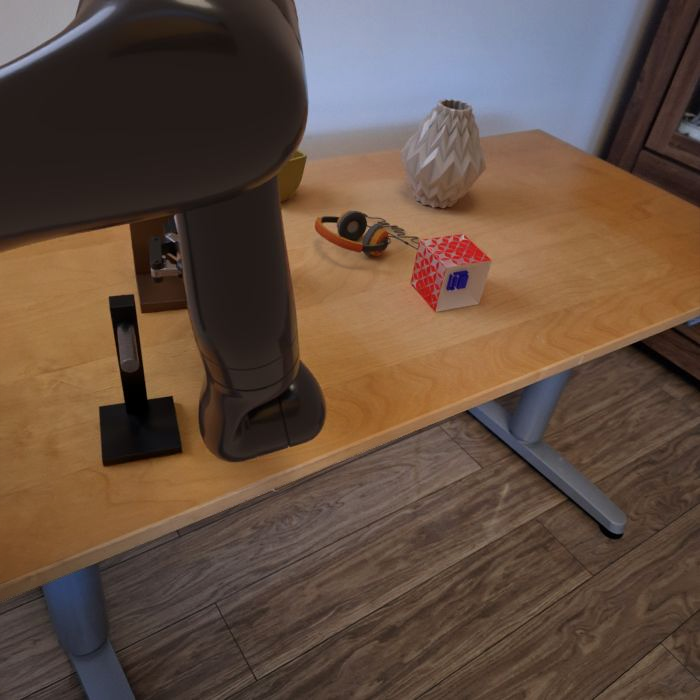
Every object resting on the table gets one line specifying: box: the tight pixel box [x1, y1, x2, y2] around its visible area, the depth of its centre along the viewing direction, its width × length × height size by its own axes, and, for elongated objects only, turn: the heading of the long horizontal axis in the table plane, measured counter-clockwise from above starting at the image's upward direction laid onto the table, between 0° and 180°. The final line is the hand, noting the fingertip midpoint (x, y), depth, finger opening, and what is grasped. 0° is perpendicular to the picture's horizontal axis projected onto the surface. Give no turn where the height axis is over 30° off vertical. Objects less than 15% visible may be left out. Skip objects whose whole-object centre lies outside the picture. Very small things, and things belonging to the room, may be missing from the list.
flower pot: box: [278, 149, 308, 203], centre depth 112 cm, size 9×9×9 cm
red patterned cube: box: [410, 233, 493, 313], centre depth 94 cm, size 8×8×8 cm
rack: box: [128, 214, 188, 314], centre depth 83 cm, size 16×10×23 cm, turn 109°
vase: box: [400, 98, 487, 209], centre depth 117 cm, size 16×16×18 cm
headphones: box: [314, 210, 419, 256], centre depth 104 cm, size 17×5×20 cm
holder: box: [98, 293, 183, 467], centre depth 63 cm, size 8×8×16 cm
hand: (201, 223), depth 76 cm, fingers closed on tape, 6 cm apart
